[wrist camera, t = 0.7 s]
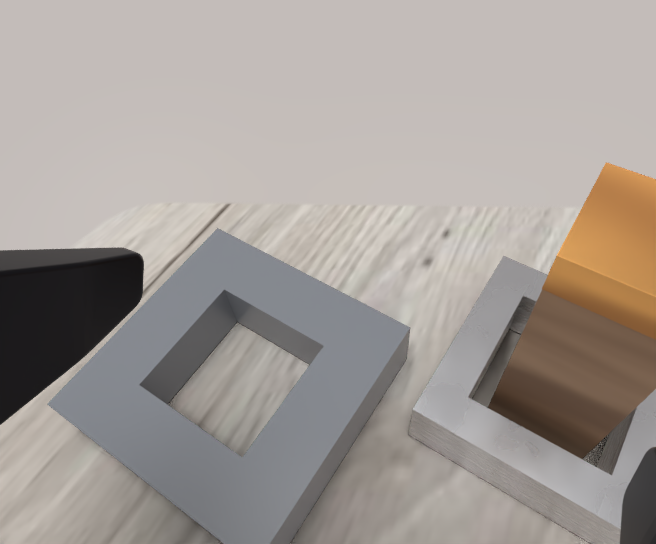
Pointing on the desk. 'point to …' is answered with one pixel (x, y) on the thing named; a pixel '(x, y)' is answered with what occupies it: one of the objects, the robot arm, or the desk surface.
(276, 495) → the socket
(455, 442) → the frame
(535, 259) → the desk surface
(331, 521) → the desk surface
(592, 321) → the plug
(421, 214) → the desk surface
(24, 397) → the robot arm
